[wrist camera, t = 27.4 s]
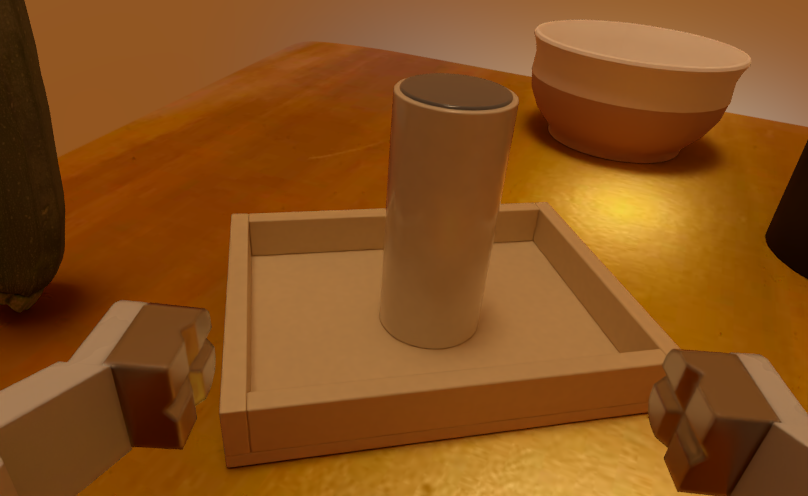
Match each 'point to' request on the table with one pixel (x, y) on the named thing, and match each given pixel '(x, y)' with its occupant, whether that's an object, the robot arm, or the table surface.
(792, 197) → the black flat-topped cap
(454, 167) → the cylinder
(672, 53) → the bowl
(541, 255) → the tray
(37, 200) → the vegetable
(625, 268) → the table surface
